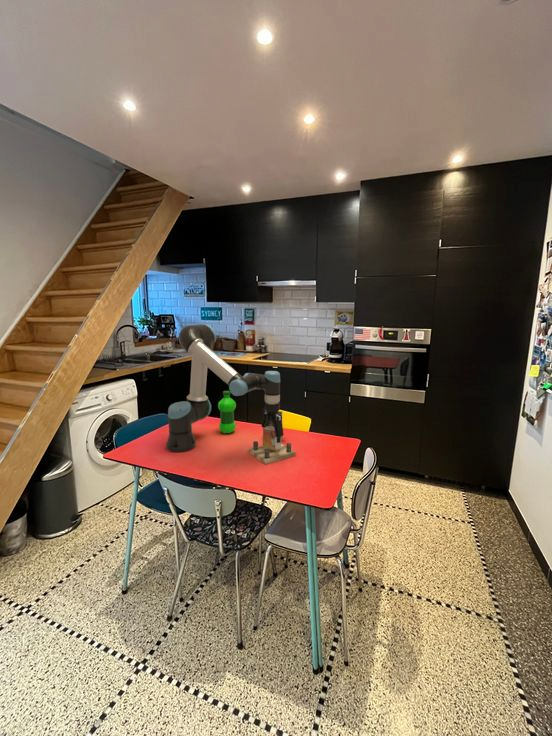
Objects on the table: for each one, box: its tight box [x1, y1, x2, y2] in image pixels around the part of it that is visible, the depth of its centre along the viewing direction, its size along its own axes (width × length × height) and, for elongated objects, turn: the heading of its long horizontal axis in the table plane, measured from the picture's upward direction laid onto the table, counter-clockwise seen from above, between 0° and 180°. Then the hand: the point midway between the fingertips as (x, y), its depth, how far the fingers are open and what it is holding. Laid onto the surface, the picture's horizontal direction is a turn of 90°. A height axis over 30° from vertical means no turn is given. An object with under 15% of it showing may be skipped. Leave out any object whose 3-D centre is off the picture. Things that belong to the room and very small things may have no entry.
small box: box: [262, 426, 282, 451], centre depth 170 cm, size 8×6×10 cm
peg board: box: [248, 440, 297, 465], centre depth 171 cm, size 16×18×6 cm
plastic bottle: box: [217, 390, 237, 434], centre depth 199 cm, size 10×10×25 cm
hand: (272, 444), depth 171 cm, fingers closed on small box, 9 cm apart
